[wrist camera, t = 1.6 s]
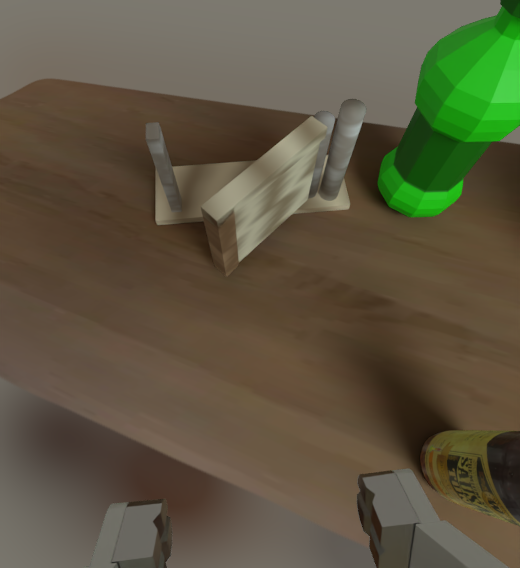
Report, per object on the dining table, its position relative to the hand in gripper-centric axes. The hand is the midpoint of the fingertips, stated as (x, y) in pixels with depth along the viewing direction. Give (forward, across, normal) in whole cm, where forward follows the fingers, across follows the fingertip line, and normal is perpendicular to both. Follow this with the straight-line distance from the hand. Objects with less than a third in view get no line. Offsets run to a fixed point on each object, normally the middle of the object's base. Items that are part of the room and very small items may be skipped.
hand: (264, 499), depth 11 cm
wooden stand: (+42, -2, -3) cm, 42 cm away
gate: (+36, -4, +1) cm, 36 cm away
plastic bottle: (+40, -22, -1) cm, 46 cm away
